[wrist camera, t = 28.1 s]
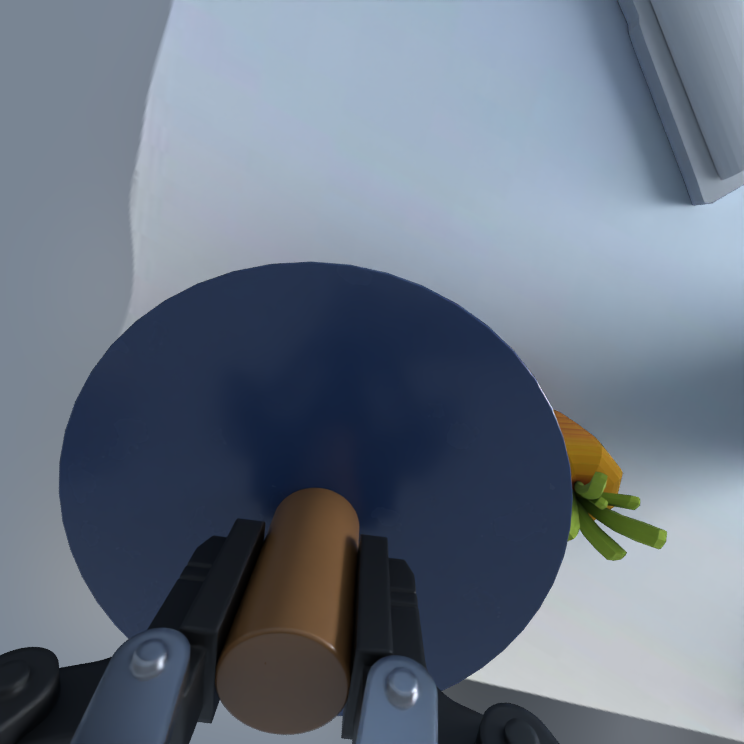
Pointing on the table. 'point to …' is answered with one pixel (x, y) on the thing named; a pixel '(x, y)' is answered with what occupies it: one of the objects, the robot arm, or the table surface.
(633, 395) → the table surface
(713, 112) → the office telephone
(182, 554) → the lid
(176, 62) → the table surface
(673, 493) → the table surface
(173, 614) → the robot arm
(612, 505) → the carrot
